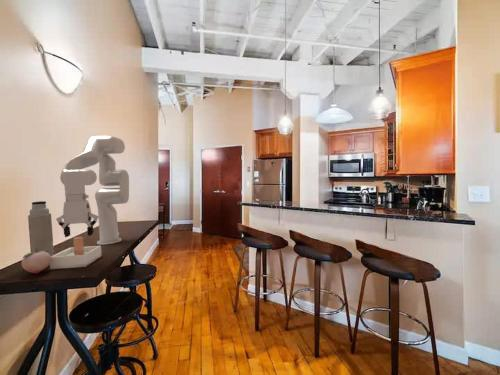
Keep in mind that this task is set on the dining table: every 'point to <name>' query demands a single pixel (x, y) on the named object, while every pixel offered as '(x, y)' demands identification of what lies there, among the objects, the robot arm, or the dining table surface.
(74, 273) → the dining table surface
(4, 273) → the dining table surface
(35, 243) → the thermos bottle
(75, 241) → the peg
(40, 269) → the decorative fruit
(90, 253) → the tub
